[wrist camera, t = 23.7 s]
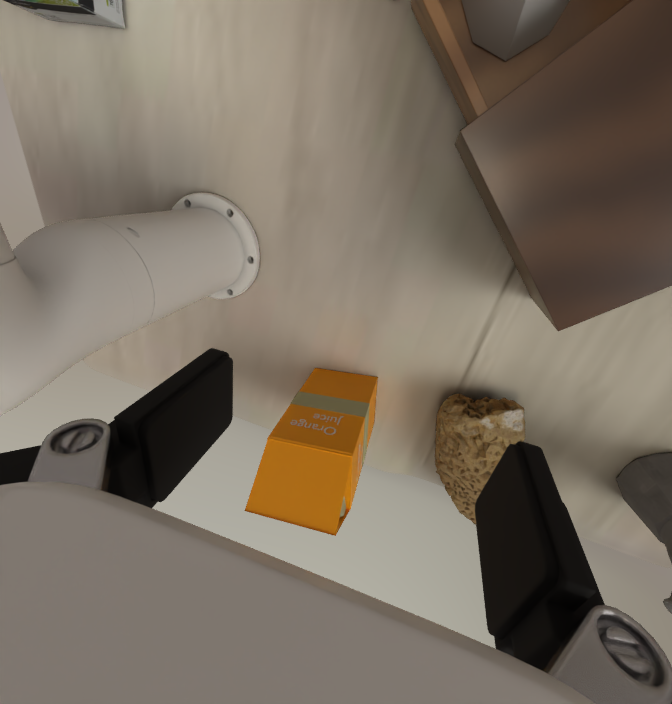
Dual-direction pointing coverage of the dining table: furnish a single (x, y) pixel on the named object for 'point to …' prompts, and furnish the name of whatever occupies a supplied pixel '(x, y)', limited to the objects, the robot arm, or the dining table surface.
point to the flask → (511, 23)
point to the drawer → (488, 69)
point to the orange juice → (317, 452)
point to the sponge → (473, 444)
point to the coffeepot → (651, 496)
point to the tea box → (77, 11)
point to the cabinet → (585, 168)
